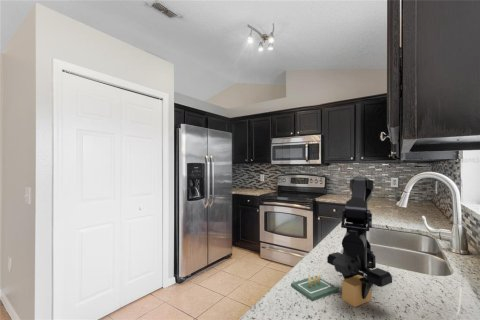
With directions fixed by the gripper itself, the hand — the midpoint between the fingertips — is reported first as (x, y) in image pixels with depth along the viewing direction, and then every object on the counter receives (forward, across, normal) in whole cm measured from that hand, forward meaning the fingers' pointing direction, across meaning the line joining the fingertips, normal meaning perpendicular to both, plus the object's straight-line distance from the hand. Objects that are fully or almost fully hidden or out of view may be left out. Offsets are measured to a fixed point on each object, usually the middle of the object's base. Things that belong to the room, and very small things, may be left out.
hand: (356, 294), depth 73 cm
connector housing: (+2, 0, 0) cm, 2 cm away
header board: (+2, -11, -7) cm, 13 cm away
